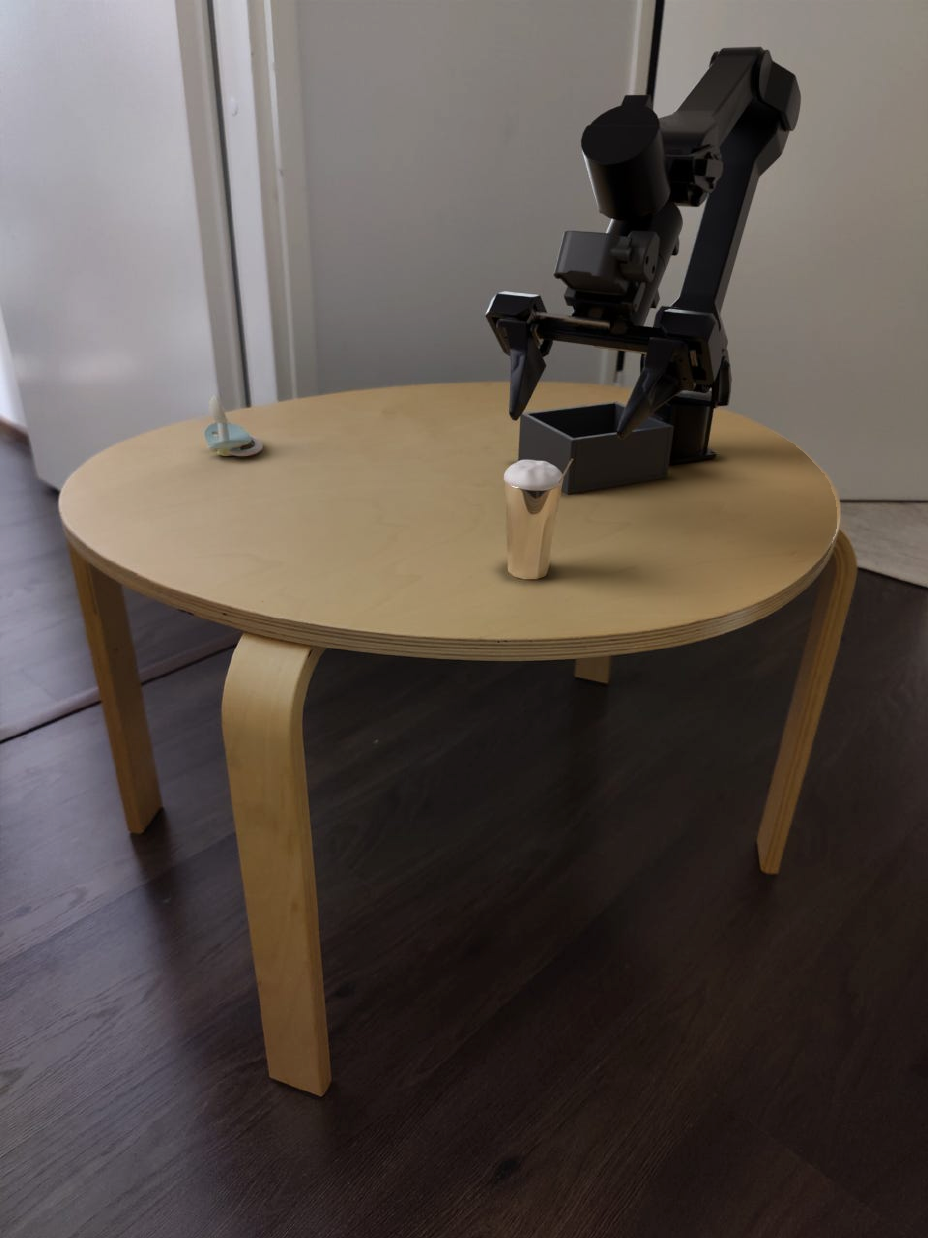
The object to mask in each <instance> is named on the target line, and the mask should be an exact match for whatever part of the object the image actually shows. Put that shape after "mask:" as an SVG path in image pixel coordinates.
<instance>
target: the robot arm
mask: <svg viewBox="0 0 928 1238" xmlns="http://www.w3.org/2000/svg"><path fill="white" fill-rule="evenodd" d="M770 51H771V50H769V49H764V48H763V47H762V46H736V47H733V46H732V47H722V48H721V49H720V50H715V51H714V52H713V53H712V55H711V57H710V61H709V64H708V68H707V69H706V71H705V72H704V73H703V75H702V76H701V77H700V78H699V80H698V81H697V82H696V84H695V85H694V86H693V88H692V89H691V90H690V92H689V93H688V95H686V97H685V98H684V100H682V102H681V104H680V105H679V106H678V107H677V109H675V111H673V112H672V113H671V114H668V115H664V116H662V117H658V114H657V113H656V111H654V110H653V109H654V108H653V102H652V98H651V94H624V96H623V99H622V101H621V103H620V105H618V106H615V107H613V108H610V109H608V110H606V111H605V112H603V113H601V114H600V115H599V116H597V117H596V118H595V119H593V121H592V122H591V123H590V124H588V125H586V126H585V128H584V130H583V131H582V133H581V134H582V135H581V140H580V148H581V152H582V155H583V159H584V163H585V167H586V169H587V174H588V176H589V180H590V184H591V188H592V191H593V195H594V197H595V201H596V206H597V209H598V212H599V214H602V215H603V216H605V217H607V218H608V219H610V222H609V225H608V226H607V229H606V232H597V231H584V230H583V231H582V230H566V231H563V234H562V238H561V242H560V246H559V250H558V254H557V259H556V262H555V268H554V270H553V277H554V278H555V279H557V280H561V281H562V282H563V284H565V286H566V289H565V291H564V293H563V298H564V302H565V304H566V306H567V307H572V309H573V311H572V314H571V315H568V314H561V313H552V312H548V311H547V308H546V306H545V304H544V301H543V299H542V295H541V294H535V293H534V294H531V293H524V292H514V291H500V292H497V293H496V294H495V295H494V296H493V297H492V299H491V301H490V303H489V305H488V308H487V310H486V312H485V314H484V317H485V318H486V321H487V323H488V324H489V326H490V328H491V330H492V333H493V334H494V336H495V338H496V341H497V342H498V344H499V346H500V348H501V350H502V352H503V353H504V354H505V355H507V356H509V359H510V380H509V381H510V384H509V404H508V406H509V408H508V414H509V416H510V418H511V420H512V421H515V422H516V421H518V420H520V416H521V414H522V413H524V411H525V410H526V408H527V406H528V404H529V402H530V400H531V398H532V396H533V395H534V392H535V390H536V388H537V386H538V384H539V382H540V380H541V378H542V376H543V374H544V372H545V371H546V368H547V364H546V362H545V359H544V358H545V357H547V356H548V355H549V354H550V352H551V349H552V347H553V345H554V342H560V343H561V342H562V343H570V344H575V345H577V344H578V345H584V346H591V347H592V346H593V347H594V348H596V349H603V350H609V351H617V352H618V351H619V352H625V353H633V354H640V359H639V376H638V378H637V380H636V382H635V385H634V387H633V389H632V392H631V393H630V396H629V398H628V400H627V402H626V404H625V405H626V407H625V409H624V411H623V413H622V416H621V419H620V422H619V425H618V428H617V436H618V439H621V440H624V439H625V438H626V437H627V436H628V435H629V434H630V433H631V432H633V431H634V430H635V429H636V428H637V427H638V426H639V425H640V424H641V423H642V422H643V421H644V420H645V419H647V418H648V417H649V416H651V417H654V418H656V419H658V420H660V421H663V422H665V423H667V424H670V425H672V426H674V430H673V437H672V444H671V452H670V459H669V465H670V464H671V465H677V464H683V463H689V462H694V461H700V460H707V459H713V458H714V459H715V458H717V456H718V455H717V454H718V452H717V451H715V450H713V449H710V448H709V443H710V436H711V431H712V423H713V417H714V412H715V409H718V408H719V407H727V406H729V404H730V400H731V394H732V382H733V381H732V380H733V377H732V371H731V368H732V367H731V363H730V357H729V351H728V344H729V340H728V336H727V333H726V329H725V326H724V322H723V319H722V316H721V313H722V309H723V305H724V302H725V298H726V295H727V291H728V288H729V285H730V281H731V277H732V275H733V270H734V267H735V263H736V260H737V257H738V253H739V250H740V246H741V242H742V239H743V235H744V232H745V228H746V225H747V222H748V218H749V214H750V211H751V207H752V204H753V200H754V196H755V193H756V190H757V186H758V183H759V180H760V177H761V176H763V175H764V173H766V171H767V170H768V169H769V168H770V167H771V166H773V165H774V163H776V162H777V160H779V158H780V157H782V155H783V153H784V149H785V147H786V143H787V140H788V138H789V135H790V132H794V131H795V129H796V127H797V124H798V120H799V117H800V111H801V104H802V94H801V90H800V86H799V83H798V79H797V76H796V74H794V73H793V72H792V71H790V70H789V69H787V68H785V67H784V66H782V65H780V64H779V63H777V62H776V61H775V60H773V57H772V55H771V52H770ZM703 204H704V206H703V209H702V213H701V215H700V220H699V222H698V227H697V230H696V234H695V238H694V241H693V245H692V249H691V252H690V255H689V260H688V263H687V266H686V269H685V273H684V277H683V280H682V284H681V287H680V290H679V294H678V297H677V299H675V300H674V301H673V302H672V303H671V304H670V305H661V306H660V308H659V309H658V310H657V307H658V305H659V303H660V300H661V296H660V292H659V288H660V285H661V282H662V280H663V277H664V275H665V273H666V270H667V267H668V265H669V263H670V260H671V257H672V256H673V257H676V256H678V255H679V252H680V238H679V237H680V234H681V231H682V229H683V226H684V219H683V216H682V211H681V210H680V208H679V207H683V208H685V207H686V208H687V207H688V208H699V207H700V206H702V205H703ZM651 309H655V310H657V311H656V313H655V316H654V320H653V324H652V326H647V325H645V324H646V321H647V318H648V315H649V313H650V311H651ZM710 389H711V390H710Z"/></svg>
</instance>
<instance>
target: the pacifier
mask: <svg viewBox="0 0 928 1238" xmlns="http://www.w3.org/2000/svg"><path fill="white" fill-rule="evenodd" d="M208 410H209V413H210V415H211V417H212V419H213V420H214V421H215V422H213V423H211V424H209V425H208V426H207V427H206V428H205V430H204V433H203V436H204V439H205V441H206V443H207V444H209V445H207V449H211V450H216V451H217V454H218V455H220V456H224V457H229V456H236V457H247V456H253V455H257V454H258V453H260V452H261V451H262V449H263V442H261V440H260V439H258V438H257V437H254V436H251V435H250V434H249V432H248V431H247V430H246V429H245V428H243V427H242V426H240V425H239V424H236V423H232V422H230V421H228V416H227V414H226V411H225V408H224V406H223V403H222V402H221V399H220V398H219V396H218V395H217V394H215V395H213V396H211V398H210V400H209V402H208ZM213 435H216V436H213ZM248 444H250V445H252V446H251V447H249V448H246V449H242V448H241V447H243V446H245V445H248Z"/></svg>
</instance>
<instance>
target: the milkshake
mask: <svg viewBox="0 0 928 1238" xmlns="http://www.w3.org/2000/svg"><path fill="white" fill-rule="evenodd" d="M572 460H573V459H572ZM572 460H570V462H569V464H568V466H567V468H566V469H565V471H564V473H563V475H562V473H561V471H560V470H559V469H558V468H557V467H555V466H553V465H552V464H550V463H548V462H546V461H535V460H520V461H518V460H517V461H516V462H514V463H512V464H511V465H510V466H509V467H507V469H506V470H505V472H504V473H503V487H504V501H505V525H506V554H507V571H508V572H509V573H510V575H511V576H512V577H515V578H518V579H522V580H539V579H541V578H543V577H546V576H547V574H548V571H549V566H550V560H551V555H552V549H553V548H552V547H553V542H554V541H553V540H554V535H555V527H556V521H557V515H558V509H559V505H560V499H561V494H562V491H561V489H562V483H563V477H564V476H565V474H566V472H567V470H568V468H569V466H570V464H571V462H572Z"/></svg>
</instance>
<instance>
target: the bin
mask: <svg viewBox="0 0 928 1238" xmlns="http://www.w3.org/2000/svg"><path fill="white" fill-rule="evenodd" d="M625 407H626V404H623V403H621V402H619V401H609V402H602V403H593V404H586V405H576V406H567V407H561V408H552V409H544V410H535V411H527V412H523V413H522V414H521V416H520V417H519V433H518V434H519V435H518V436H519V437H518V455H517V462H518V461H520V460H535V461H546V462H548V463H550V464H552V465H553V466H555V467H557V468H558V469H559V470H560V471H561V473H562V475H563V473H564V471H565V469H566V468H567V466H568V464H569V462H570V460H572V459H573V460H572V462H571V464H570V466H569V468H568V470H567V472H566V474H565V476H564V477H563V483H562V489H561V492H563V493H565V495H572V494H578V493H584V492H590V491H597V490H601V489H607V488H615V487H620V486H625V485H632V484H638V483H645V482H649V481H656V480H662V479H667V478H668V472H669V466H670V464H669V459H670V452H671V444H672V437H673V430H674V426H672V425H670V424H667V423H665V422H663V421H660V420H658V419H656V418H654V417H651V416H649V417H648V418H647V419H645V420H644V421H643V422H642V423H641V424H640V425H639V426H638V427H637V428H636V429H635V430H634V431H633V432H631V433H630V434H629V435H628V436H627V437H626V438H625V439H624V440H621V439H618V436H617V428H618V425H619V422H620V419H621V416H622V413H623V411H624V409H625Z"/></svg>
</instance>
